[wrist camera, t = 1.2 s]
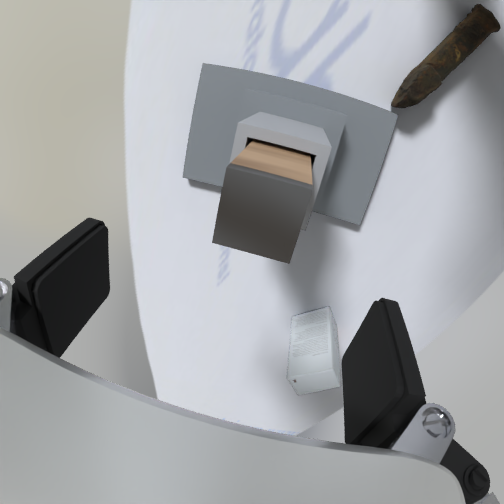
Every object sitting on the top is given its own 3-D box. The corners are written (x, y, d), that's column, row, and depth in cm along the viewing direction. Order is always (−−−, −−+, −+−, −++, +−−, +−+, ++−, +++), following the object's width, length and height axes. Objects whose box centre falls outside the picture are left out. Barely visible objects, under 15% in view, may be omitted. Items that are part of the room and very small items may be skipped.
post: (267, 125, 28) (225, 166, 14) (309, 136, 28) (313, 189, 14) (258, 164, 30) (211, 242, 16) (298, 174, 30) (289, 264, 16)
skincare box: (301, 334, 48) (296, 396, 38) (291, 315, 47) (284, 377, 36) (338, 325, 46) (341, 387, 36) (330, 304, 45) (333, 367, 34)
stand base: (206, 64, 31) (139, 52, 18) (394, 113, 31) (454, 134, 17) (186, 174, 38) (122, 228, 25) (357, 220, 38) (382, 299, 24)
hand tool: (470, 6, 21) (487, -1, 17) (490, 31, 22) (508, 28, 18) (374, 87, 30) (383, 86, 26) (397, 113, 31) (409, 117, 27)
